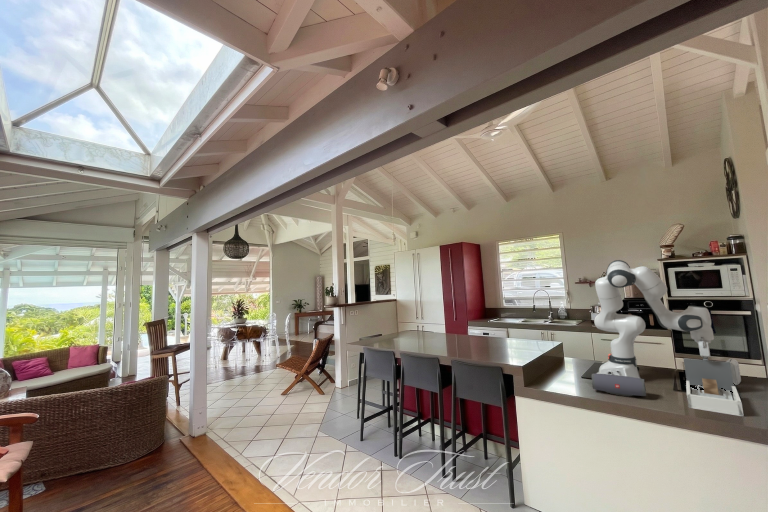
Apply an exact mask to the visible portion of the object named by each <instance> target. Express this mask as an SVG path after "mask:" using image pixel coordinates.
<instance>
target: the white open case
mask: <svg viewBox="0 0 768 512" xmlns="http://www.w3.org/2000/svg"><path fill="white" fill-rule="evenodd" d="M683 365H684V372H685V378H686V381H689V382H690V385H702V386H697V389H698V390H697V389H694V388H692V387H691V394H692V395H699V396H706V397H713V398H720V399H727V400H734V398H733V394H732V392H730V391H732V386H735V385H734V384H733V377H732V371H731V365H730V362H726V361H723V360H721V361H720V360H709V359H708V360H703V359H698V358H687V357H683ZM702 378H704V379H713V380H716V382H717V387H718V393H719V395H714V394H706V393H704V390H700V388H699V387H702V388H703V382H702ZM721 388H723V389H721ZM724 389H725V390H726V391H724Z"/></svg>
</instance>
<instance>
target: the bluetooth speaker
mask: <svg viewBox="0 0 768 512" xmlns="http://www.w3.org/2000/svg"><path fill="white" fill-rule="evenodd" d="M591 385H592V389H593V390H595V391H600V392H606V393H607V394H608V393H610V394H609V395H613V394H616V396H620V395H623V397H629V396H631V397H632V396H641V397H647V390H646V383H645V378H641V377H640V378H635V377H628V376H620V375H610V374H596V373H591Z"/></svg>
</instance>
